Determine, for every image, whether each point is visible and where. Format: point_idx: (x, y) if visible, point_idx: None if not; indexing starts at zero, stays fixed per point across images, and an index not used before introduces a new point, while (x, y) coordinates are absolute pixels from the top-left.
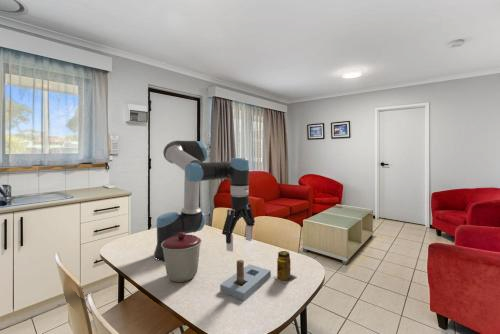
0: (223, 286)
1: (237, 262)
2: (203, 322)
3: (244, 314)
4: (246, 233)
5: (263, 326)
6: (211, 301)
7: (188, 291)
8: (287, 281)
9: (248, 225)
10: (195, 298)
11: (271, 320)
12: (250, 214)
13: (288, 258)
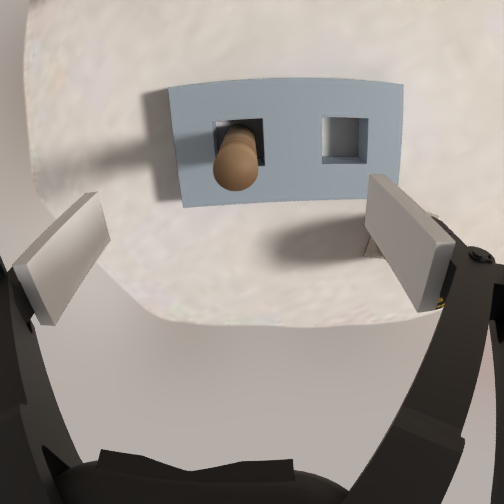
0: (170, 105)
1: (213, 165)
2: (46, 176)
3: (140, 239)
4: (393, 208)
5: (144, 298)
6: (111, 112)
7: (102, 3)
8: (380, 253)
9: (447, 270)
10: (89, 58)
11: (174, 302)
12: (501, 427)
13: None
